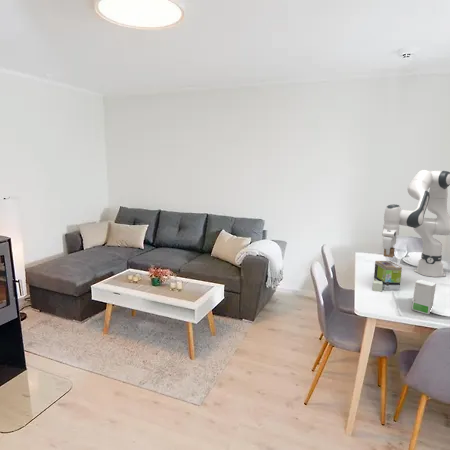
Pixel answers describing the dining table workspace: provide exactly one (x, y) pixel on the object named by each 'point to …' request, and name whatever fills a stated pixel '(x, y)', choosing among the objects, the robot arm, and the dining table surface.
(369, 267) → the dining table surface
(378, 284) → the sage block
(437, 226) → the robot arm
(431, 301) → the skincare box
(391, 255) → the walnut block
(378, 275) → the tea box
